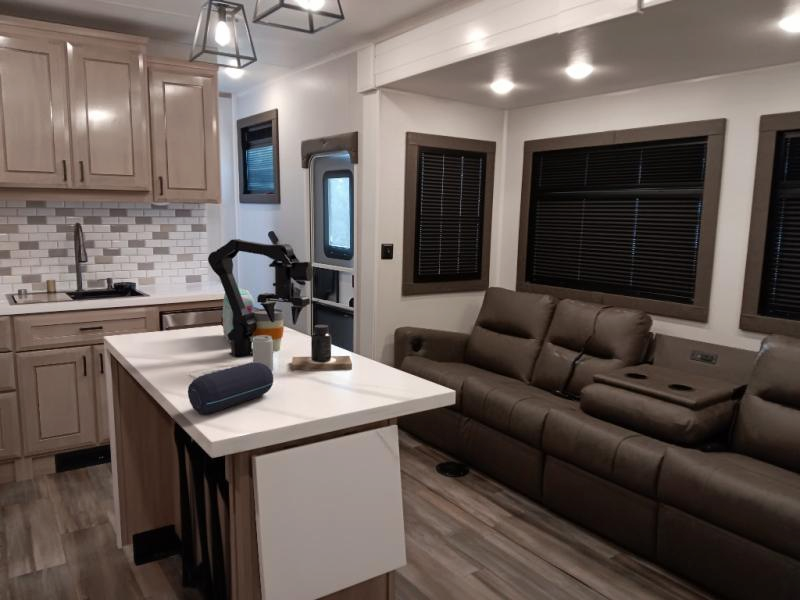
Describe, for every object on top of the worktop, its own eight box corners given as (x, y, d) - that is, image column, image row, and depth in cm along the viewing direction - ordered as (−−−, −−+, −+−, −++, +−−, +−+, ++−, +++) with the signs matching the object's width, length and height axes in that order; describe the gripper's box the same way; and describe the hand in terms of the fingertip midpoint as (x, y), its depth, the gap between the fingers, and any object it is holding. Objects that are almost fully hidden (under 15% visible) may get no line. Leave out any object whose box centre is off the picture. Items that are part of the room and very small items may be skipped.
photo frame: (231, 365, 196) (257, 377, 183) (231, 369, 197) (257, 380, 183) (189, 372, 187) (213, 385, 173) (189, 376, 187) (213, 389, 174)
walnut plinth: (292, 370, 194) (292, 364, 194) (292, 362, 205) (292, 356, 205) (351, 369, 198) (352, 363, 197) (349, 361, 208) (349, 355, 208)
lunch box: (220, 334, 249) (219, 284, 246) (244, 332, 254) (244, 283, 250) (230, 347, 225) (229, 292, 222) (257, 345, 230) (256, 291, 227)
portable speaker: (252, 390, 173) (252, 357, 171) (277, 396, 168) (277, 362, 166) (180, 413, 152) (179, 375, 150) (206, 420, 147) (205, 382, 145)
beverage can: (268, 375, 188) (267, 339, 186) (249, 374, 189) (249, 337, 188) (276, 370, 194) (276, 335, 192) (258, 369, 195) (257, 334, 194)
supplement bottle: (307, 359, 201) (307, 325, 200) (323, 356, 206) (323, 323, 204) (318, 363, 196) (318, 328, 195) (335, 360, 201) (335, 326, 199)
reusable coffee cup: (288, 346, 229) (288, 309, 227) (279, 354, 216) (278, 314, 214) (257, 345, 230) (257, 307, 228) (246, 352, 218) (245, 313, 215)
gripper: (317, 279, 209) (317, 322, 212) (274, 276, 216) (274, 317, 219) (301, 282, 199) (301, 327, 202) (256, 279, 206) (256, 322, 209)
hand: (283, 323), depth 208 cm, fingers open, 9 cm apart
